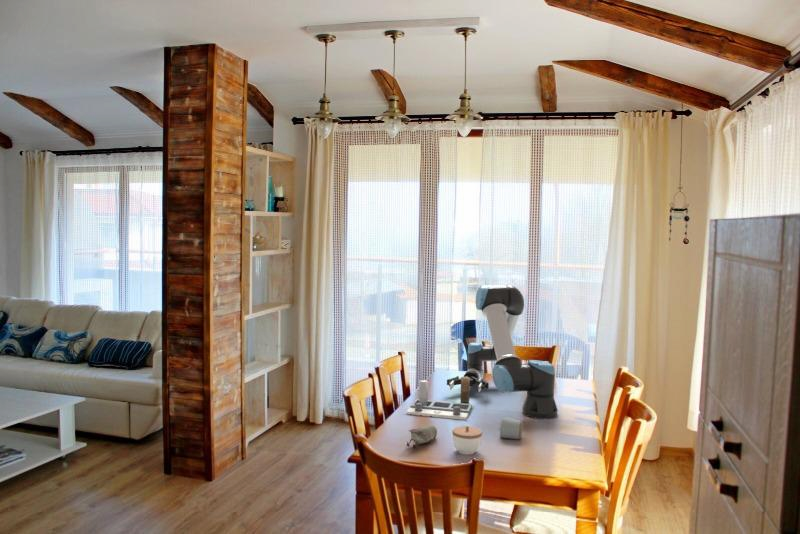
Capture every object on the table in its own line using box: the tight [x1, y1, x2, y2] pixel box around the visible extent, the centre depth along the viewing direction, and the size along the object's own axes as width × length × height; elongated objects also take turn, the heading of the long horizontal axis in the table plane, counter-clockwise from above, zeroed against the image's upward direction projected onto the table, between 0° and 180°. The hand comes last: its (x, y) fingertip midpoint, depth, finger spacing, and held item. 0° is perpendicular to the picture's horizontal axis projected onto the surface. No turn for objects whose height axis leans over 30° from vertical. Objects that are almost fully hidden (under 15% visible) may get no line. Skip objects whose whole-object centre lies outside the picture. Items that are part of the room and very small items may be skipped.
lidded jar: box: [452, 425, 483, 456], centre depth 218 cm, size 11×11×9 cm
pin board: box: [409, 379, 473, 415], centre depth 269 cm, size 26×11×12 cm, turn 75°
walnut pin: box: [459, 376, 470, 404], centre depth 280 cm, size 4×4×12 cm
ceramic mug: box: [499, 417, 524, 440], centre depth 235 cm, size 11×8×8 cm
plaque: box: [406, 403, 469, 421], centre depth 261 cm, size 26×6×4 cm, turn 75°
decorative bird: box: [406, 424, 438, 450], centre depth 226 cm, size 5×16×8 cm, turn 141°
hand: (464, 388), depth 281 cm, fingers open, 13 cm apart
